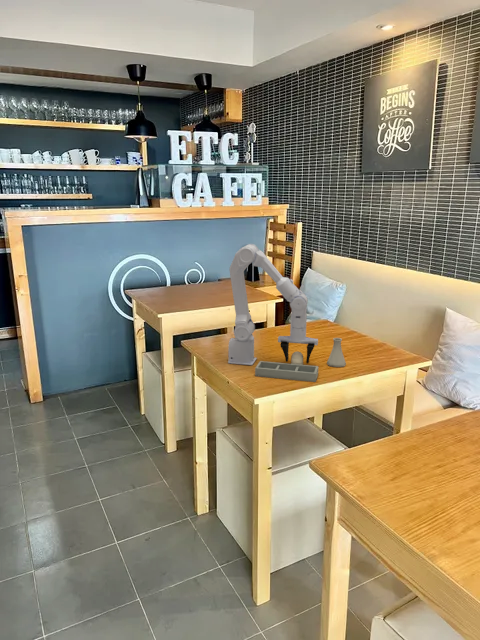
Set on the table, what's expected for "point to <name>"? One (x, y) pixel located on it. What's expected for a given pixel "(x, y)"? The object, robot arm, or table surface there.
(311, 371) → the gray compartment tray
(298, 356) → the beige domed cylinder
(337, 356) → the flask
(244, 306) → the robot arm
